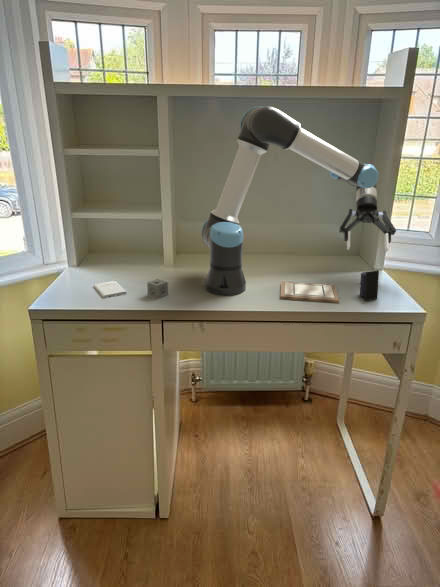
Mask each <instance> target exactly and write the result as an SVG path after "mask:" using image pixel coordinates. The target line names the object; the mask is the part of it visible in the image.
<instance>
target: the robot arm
mask: <svg viewBox="0 0 440 587" xmlns="http://www.w3.org/2000/svg"><path fill="white" fill-rule="evenodd" d="M301 126H302V125H301V123H300V122H299V121H297V120H295V119H294V118H292V117H291V116H289V115H287V114H286V113H285V112H284V111H281V110H280V109H278V108H276V107H274V106H270V105H269V106H254V107H252V108H250V109H248V110H247V111H246V112H245V113H244V114H243V115H242V117H241V120H240V124H239V127H240V132H239V134H238V136H237V139H236V140H237V144H238V146H239V147H238V148H237V151H236V154H235V157H234V160H233V163H232V166H231V169H230V170H229V173H228V177H227V179H226V181H225V184H224V186H223V189H222V192H221V195H220V198H219V200H218V203H217V206H216V208H215V209H213V210H211V211H210V213H209V216H208V219H206V220H205V222H203V224H202V227H201V238H202V240H203V242H204V244H205V245H206V246H207V247H208V249H209V268H208V269H209V270H208V273H207V276H206V279H205V283H204V284H205V285H204V288H205V290H206V291H207V292H208V293H211V294H214V295H220V296H233V295H239V294H241V293H244V292H245V291H246V287H247V281H246V278H245V274H244V271H243V249H244V248H243V247H244V246H243V245H244V230H243V228H242V227H241V226H240V225H239V224H240V221H239V217H238V216H239V214H240V211H241V208H242V207H243V206H242V205H243V203H244V201H245V199H246V198H245V197H247V193H248V190H249V187H250V185H251V183H252V180H253V177H254V175H255V171H256V170H257V167H258V164H259V163H260V162H259V161H260V159H261V157H262V155H264V154H266V153H267V152H268V150H269V148H270V145H272V146H275V147H279V148H280V149H282V150H284V151H286V150H291V151H292V152H294V153H296V154H298V155H300V156H301V157H304V158H306V159H308V160H309V161H311V162H313V163H315V164H317V165H318V166H320V167H322V168H324V169H325V170H327V171H328V172H329V173H328V174H329V177H331V178H332V179H334V180H336V181H339V182H342V183H343V184H347V185H350V186H352V187H355V188H356V189H355V190H356V191H355V193H356V194H355V195H356V199H355V200H356V201H355V202H356V206H355V207H356V210H353V209H352V208H349V209H348V213H347V216H346V217H345V218H344V221H343V222H342V224H341V225H340V228H339V230H338V232H339V233H343V241H344V242H346V250H347V251H349V250H350V249H351V231H352V229H353V228H354V227H356V226H357V225H358V224H359V223H360V222H361V223H362V224H363V223H364V224H366V223H367V224H373V225H375V226H376V227H377V228H378V229H379V230H380V231H381V232H382V233H383V234H384V237H383V239H384V240H383V241H384V245H383V246H384V253H388V251H389V249H390V244H391V242H392V236H394V235H395V234H396V232H397V229H396V227H395V226H394V224H393V223H392V221H391V220H390V218H389V216H388V214H387V210H382V211H378V200H377V199H378V194H377V183H378V180H379V177H380V176H379V175H380V174H379V171H378V170H377V169H376V167H375V165H373V164H372V163H371V164H370V163H363V162H362V161H360V160H357V159H356V158H354V157H353V156H351V155H349V154H347V153H346V152H344V151H343V150H340V149H339V148H337V147H336V146H334V145H332V144H330V143H328V142H326V141H325V140H323V139H321V138H320V137H317V136H316V135H315V134H313V133H311V132H310V131H307V130H306V129H304V128H302V127H301ZM354 215H355V217H356V218H355V219H354V220H353V221H352V222H351V223H349V222H350V220H351V218H352V217H354ZM380 219H381V220H380ZM382 221H383V222H382ZM348 223H349V225H348ZM346 226H347V227H346Z"/></svg>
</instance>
